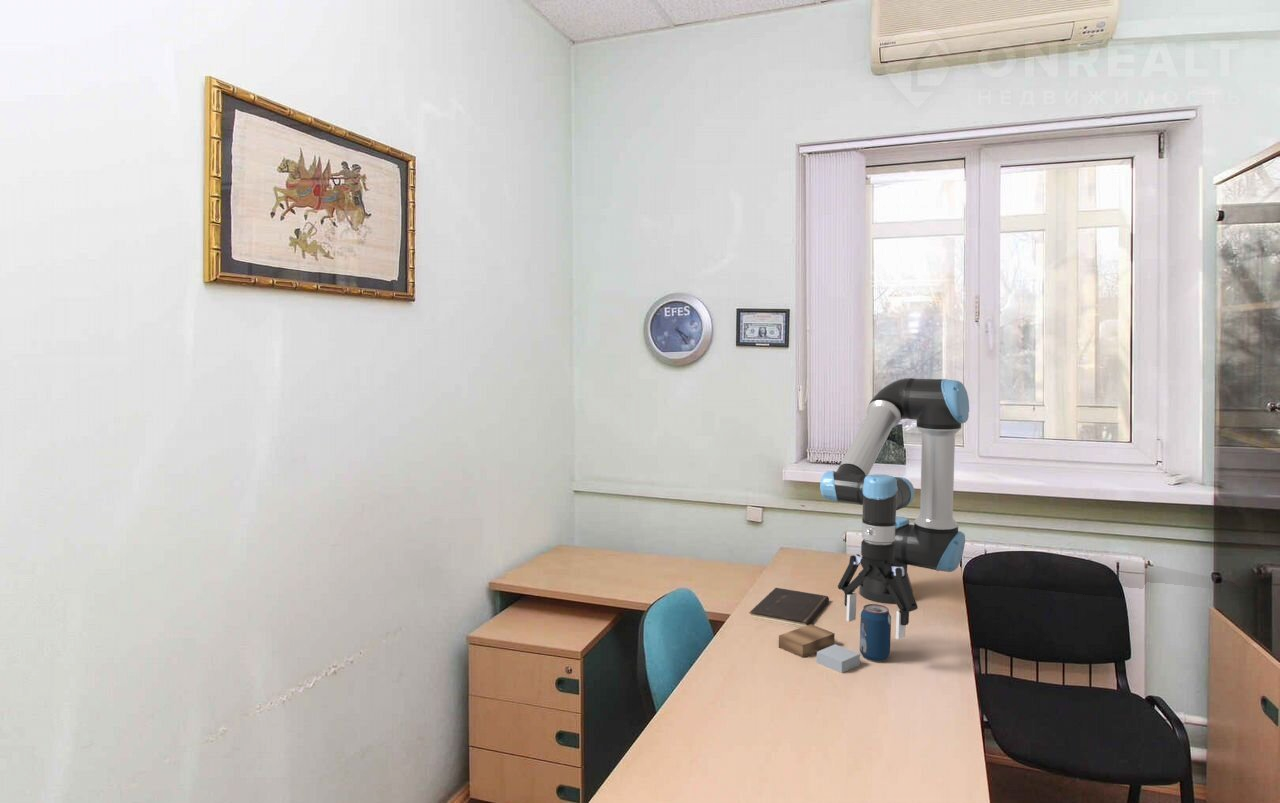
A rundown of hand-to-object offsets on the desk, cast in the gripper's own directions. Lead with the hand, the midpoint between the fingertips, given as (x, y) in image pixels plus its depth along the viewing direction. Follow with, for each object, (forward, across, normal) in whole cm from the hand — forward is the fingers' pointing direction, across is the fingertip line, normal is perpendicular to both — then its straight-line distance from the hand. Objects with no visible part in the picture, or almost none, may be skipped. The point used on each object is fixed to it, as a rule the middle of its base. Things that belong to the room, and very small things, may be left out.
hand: (874, 628), depth 177 cm
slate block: (+8, -3, -10) cm, 13 cm away
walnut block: (+7, -14, -8) cm, 17 cm away
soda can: (+7, 0, 0) cm, 7 cm away
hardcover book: (+8, -33, +8) cm, 35 cm away
